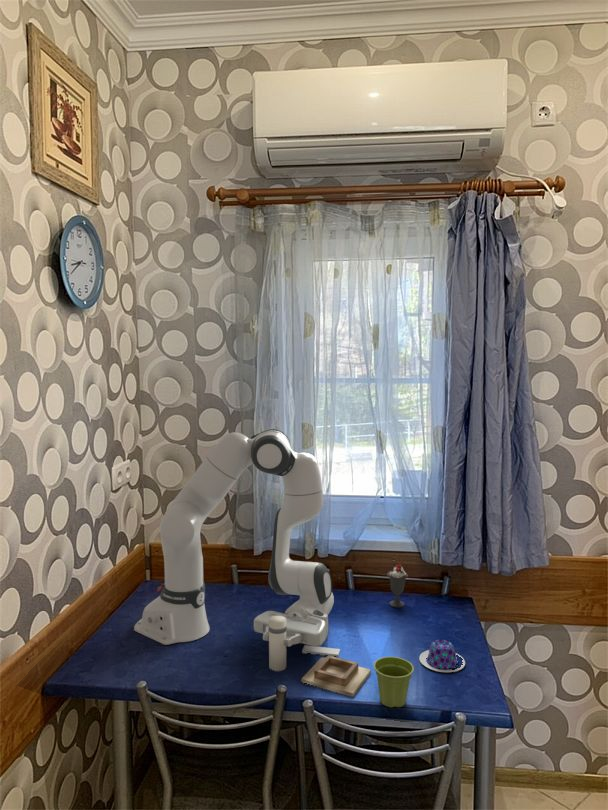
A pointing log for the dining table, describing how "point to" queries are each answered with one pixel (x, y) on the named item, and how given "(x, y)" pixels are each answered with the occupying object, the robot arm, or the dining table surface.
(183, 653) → the dining table surface
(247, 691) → the dining table surface
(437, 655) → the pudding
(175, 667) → the dining table surface
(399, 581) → the sundae
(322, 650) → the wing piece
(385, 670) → the plant pot
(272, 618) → the grooved cream capsule
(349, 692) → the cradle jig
